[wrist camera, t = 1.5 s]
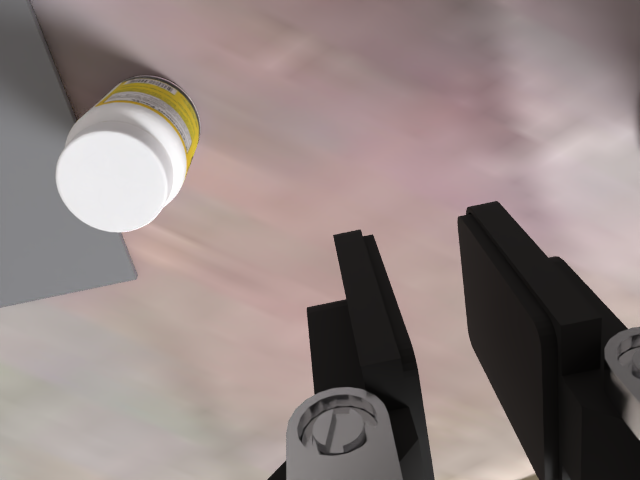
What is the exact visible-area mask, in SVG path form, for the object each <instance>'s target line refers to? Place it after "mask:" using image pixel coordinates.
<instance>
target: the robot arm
mask: <svg viewBox="0 0 640 480" xmlns="http://www.w3.org/2000/svg"><path fill="white" fill-rule="evenodd" d="M458 233H459V243H460V254H461V264H462V274H463V284H464V295H465V305H466V315H467V325H468V333H469V338H470V341H471V344H472V347H473V349H474V351H475V353H476V355H477V357H478V359H479V361H480V363H481V365H482V367H483V369H484V371H485V373H486V375H487V377H488V379H489V381H490V383H491V385H492V387H493V389H494V391H495V393H496V395H497V397H498V399H499V401H500V403H501V405H502V407H503V409H504V411H505V413H506V415H507V417H508V419H509V421H510V423H511V425H512V427H513V429H514V431H515V433H516V435H517V437H518V439H519V441H520V443H521V445H522V447H523V449H524V451H525V453H526V455H527V457H528V459H529V461H530V463H531V465H532V467H533V469H534V471H535V473H536V475H537V477H538V478H539V480H640V327H634V328H630V329H627V327H626V326H625V325H624V324H623V323H622V322H621V321H620V320H619V319H618V318H617V317H616V316H615V315H614V314H613V312H612V311H611V310H610V309H609V308H608V307H607V306H606V305H605V304H604V303H603V302H602V301H601V300H600V299H599V298H598V296H597V295H596V294H595V293H594V292H593V291H592V290H591V289H590V288H589V287H588V286H587V285H586V284H585V283H584V282H583V280H582V279H581V278H580V277H579V276H578V275H577V274H576V273H575V272H574V271H573V270H572V269H571V268H570V267H569V266H568V264H567V263H566V262H565V261H564V260H562V259H561V258H560V257H550V258H548V257H547V256H546V255H545V253H544V252H543V251H542V250H541V249H540V248H539V247H538V246H537V245H536V243H535V242H534V241H533V240H532V239H531V238H530V237H529V236H528V234H527V233H526V232H525V231H524V230H523V229H522V228H521V227H520V226H519V224H518V223H517V222H516V221H515V220H514V219H513V218H512V217H511V215H510V214H509V213H508V212H507V211H506V210H505V209H504V208H503V207H502V205H501V204H500V203H499V202H497V201H495V202H490V203H485V204H480V205H476V206H471V207H467V210H466V215H464V216H459V217H458ZM333 237H334V241H335V246H336V251H337V256H338V261H339V266H340V270H341V275H342V280H343V285H344V290H345V294H346V300H341V301H336V302H331V303H326V304H321V305H317V306H312V307H307V317H308V328H309V339H310V350H311V360H312V371H313V382H314V393H315V395H314V396H312V397H310V398H308V399H306V400H305V401H304V402H303V403H302V404H301V405H300V406H299V407H298V408H297V409H295V411H294V413H293V414H292V416H291V418H290V419H289V422H288V427H287V432H286V461H285V462H284V463H283V464H282V465H281V466H280V467H279V468H278V469H277V470H276V471H275V472H274V473H273V474H272V475H271V476H270V477H269V478H268V480H435V479H434V473H433V466H432V459H431V453H430V446H429V440H428V433H427V426H426V420H425V413H424V407H423V400H422V393H421V387H420V380H419V374H418V368H417V363H416V359H415V355H414V351H413V347H412V344H411V341H410V338H409V335H408V333H407V330H406V327H405V324H404V321H403V318H402V316H401V313H400V310H399V307H398V304H397V301H396V298H395V296H394V293H393V290H392V287H391V284H390V281H389V278H388V276H387V273H386V270H385V267H384V264H383V261H382V259H381V256H380V253H379V250H378V247H377V244H376V241H375V239H374V236H373V235H368V236H362V232H361V230H356V231H351V232H346V233H341V234H337V235H333Z"/></svg>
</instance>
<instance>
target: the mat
mask: <svg viewBox="0 0 640 480" xmlns="http://www.w3.org/2000/svg"><path fill="white" fill-rule="evenodd" d="M76 122H77V120H76V117H75V115H74V112H73V110H72V107H71V105H70V102H69V99H68V97H67V94H66V92H65V89H64V87H63V84H62V82H61V79H60V77H59V74H58V72H57V69H56V66H55V64H54V61H53V59H52V56H51V54H50V51H49V49H48V46H47V44H46V41H45V38H44V36H43V33H42V31H41V28H40V26H39V23H38V21H37V18H36V16H35V13H34V11H33V8H32V5H31V3H30V0H0V308H1V307H6V306H11V305H16V304H20V303H25V302H30V301H35V300H40V299H44V298H49V297H54V296H59V295H64V294H68V293H73V292H78V291H83V290H88V289H92V288H97V287H102V286H107V285H112V284H116V283H121V282H126V281H131V280H136V279H137V276H138V275H137V272H136V270H135V267H134V265H133V262H132V260H131V257H130V255H129V252H128V249H127V247H126V244H125V242H124V239H123V237H122V234H121V232H108V231H103V230H99V229H97V228H94V227H91V226H89V225H87V224H86V223H84V222H82V221H81V220H80V219H78V218H77V217H76V216H75V215H74V214H73V213H72V212H71V211H70V210H69V209H68V208H67V206H66V205H65V203H64V202H63V200H62V198H61V197H60V194H59V192H58V189H57V185H56V165H57V161H58V159H59V156H60V154H61V152H62V151H63V149H64V148H65V143H66V139H67V136H68V134H69V132H70V130H71V128H72V127H73V125H74V124H75V123H76Z"/></svg>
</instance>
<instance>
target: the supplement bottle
mask: <svg viewBox="0 0 640 480" xmlns="http://www.w3.org/2000/svg"><path fill="white" fill-rule="evenodd" d="M199 137H200V119H199V115H198V112H197V109H196V107H195V105H194V103H193V101H192V100H191V99H190V97H189V96H188V95H187V94H186V93H185V92H184V91H183V90H182V89H181V88H180V87H178V86H177V85H176V84H174V83H172V82H171V81H168V80H166V79H164V78H160V77H156V76H147V75H145V76H136V77H132V78H129V79H127V80H124V81H123V82H121V83H119V84H118V85H117V86H115V87H114V88H113V89H112V90H111V91H110V92H109V93H108V94H107V95H106V96H104V97H103V98H102V99H101V100H100V101H99V102H98V103H97V104H96V105H95V106H93V107H92V108H91V109H90V110H89V111H88V112H86V113H85V114H84V115H83V116H82V117H81V118H80V119H79V120H78V121H77V122H76V123H75V124H74V125H73V127H72V128H71V130H70V132H69V134H68V136H67V139H66V143H65V148H64V149H63V151H62V152H61V154H60V156H59V159H58V161H57V165H56V185H57V189H58V192H59V194H60V197H61V198H62V200H63V202H64V203H65V205H66V206H67V208H68V209H69V210H70V211H71V212H72V213H73V214H74V215H75V216H76V217H77V218H78V219H80V220H81V221H82V222H84V223H86V224H87V225H89V226H91V227H94V228H97V229H99V230H103V231H108V232H128V231H133V230H136V229H139V228H141V227H143V226H145V225H147V224H148V223H150V222H151V221H152V220H154V218H155V217H156V216H157V215H158V214H159V213H160V212H161V210H162V208H163V207H164V206H166V205H167V204H168V203H169V202H171V201H172V200H173V199H174V197H175V196H176V195H177V194H178V192H179V190H180V189H181V187H182V185H183V183H184V180H185V177H186V174H187V171H188V169H189V166H190V164H191V161H192V158H193V155H194V152H195V150H196V147H197V144H198V141H199Z"/></svg>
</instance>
